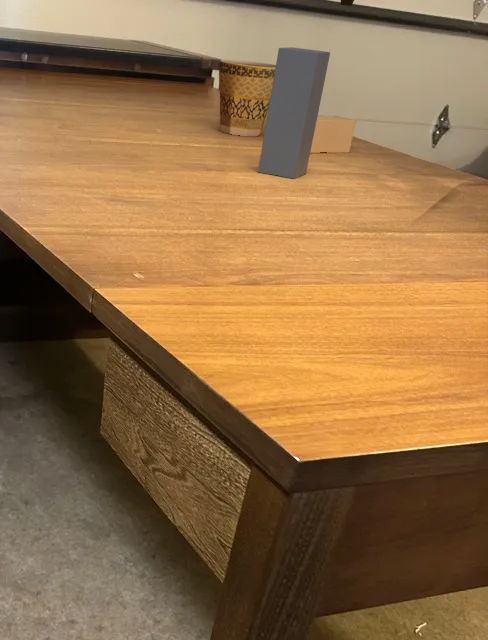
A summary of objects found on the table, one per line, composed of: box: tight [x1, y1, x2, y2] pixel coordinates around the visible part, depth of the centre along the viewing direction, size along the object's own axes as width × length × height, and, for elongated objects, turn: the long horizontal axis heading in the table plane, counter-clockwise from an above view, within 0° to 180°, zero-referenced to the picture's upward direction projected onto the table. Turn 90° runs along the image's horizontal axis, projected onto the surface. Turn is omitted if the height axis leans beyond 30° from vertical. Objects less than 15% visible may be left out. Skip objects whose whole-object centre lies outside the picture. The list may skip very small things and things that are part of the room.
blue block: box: [257, 47, 331, 180], centre depth 103 cm, size 5×5×14 cm
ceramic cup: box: [218, 59, 276, 137], centre depth 133 cm, size 13×10×10 cm
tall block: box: [310, 114, 357, 154], centre depth 125 cm, size 4×4×12 cm
